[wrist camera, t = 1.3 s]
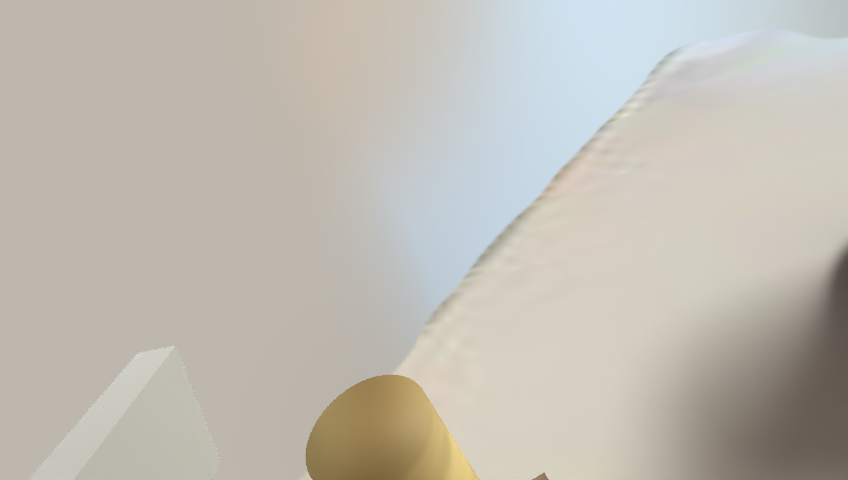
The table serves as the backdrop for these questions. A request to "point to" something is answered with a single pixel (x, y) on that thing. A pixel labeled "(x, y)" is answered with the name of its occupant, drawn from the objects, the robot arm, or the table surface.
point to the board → (541, 477)
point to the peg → (384, 436)
